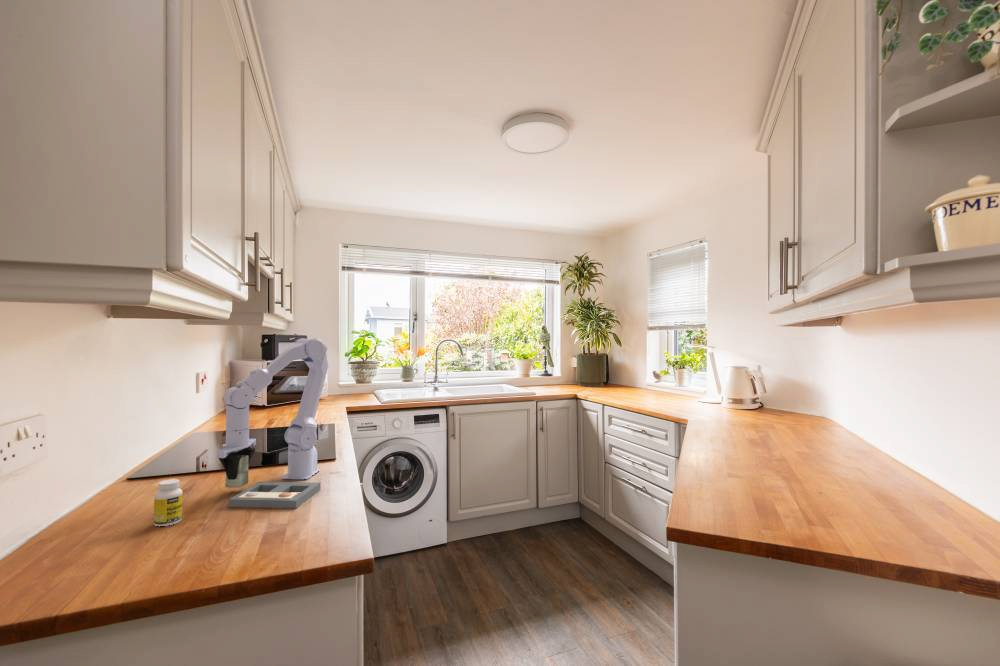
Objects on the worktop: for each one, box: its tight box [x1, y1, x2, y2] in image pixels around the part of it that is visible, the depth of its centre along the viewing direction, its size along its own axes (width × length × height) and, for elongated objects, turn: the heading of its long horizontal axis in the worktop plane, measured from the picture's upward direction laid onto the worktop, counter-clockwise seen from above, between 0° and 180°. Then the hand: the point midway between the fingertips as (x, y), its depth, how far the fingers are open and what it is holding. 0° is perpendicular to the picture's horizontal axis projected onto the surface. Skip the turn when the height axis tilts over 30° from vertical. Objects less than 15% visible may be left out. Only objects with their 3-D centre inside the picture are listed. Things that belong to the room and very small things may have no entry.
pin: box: [225, 455, 249, 489], centre depth 125 cm, size 4×4×8 cm
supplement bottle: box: [153, 478, 184, 528], centre depth 104 cm, size 5×5×10 cm
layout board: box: [228, 481, 322, 509], centre depth 121 cm, size 14×18×2 cm
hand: (237, 476), depth 125 cm, fingers closed on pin, 4 cm apart
